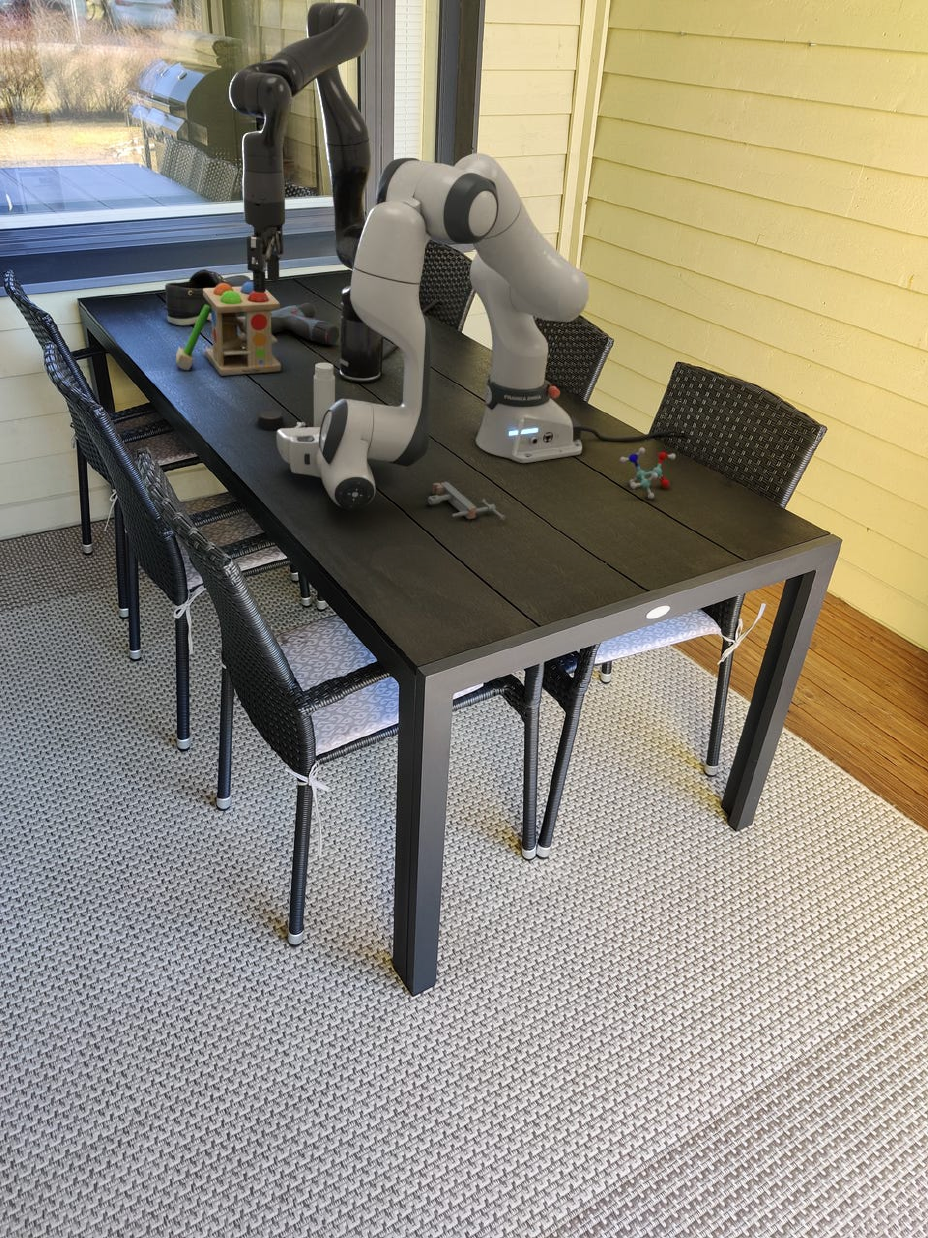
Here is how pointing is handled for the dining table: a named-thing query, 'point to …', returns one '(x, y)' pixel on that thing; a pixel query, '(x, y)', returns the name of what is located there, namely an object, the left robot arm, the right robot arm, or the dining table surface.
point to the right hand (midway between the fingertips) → (324, 424)
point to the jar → (323, 391)
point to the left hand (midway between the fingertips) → (266, 285)
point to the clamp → (459, 501)
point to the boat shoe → (194, 295)
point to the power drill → (304, 324)
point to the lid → (270, 419)
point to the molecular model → (641, 473)
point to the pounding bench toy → (235, 331)
